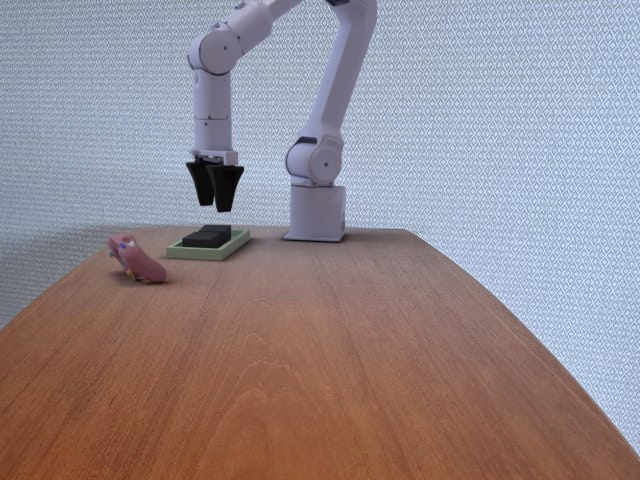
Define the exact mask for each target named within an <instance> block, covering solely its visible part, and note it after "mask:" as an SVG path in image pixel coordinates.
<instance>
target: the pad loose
mask: <svg viewBox="0 0 640 480" xmlns="http://www.w3.org/2000/svg"><path fill="white" fill-rule="evenodd" d="M199 229H200V230H199ZM199 229H198V230H199V231H198V232H217V233H221V244H222V246H223V245H224V244H226V243H227V242H229V241H230V240H231V229H232V225H231V224H204V225H202V227H201V228H199Z"/></svg>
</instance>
